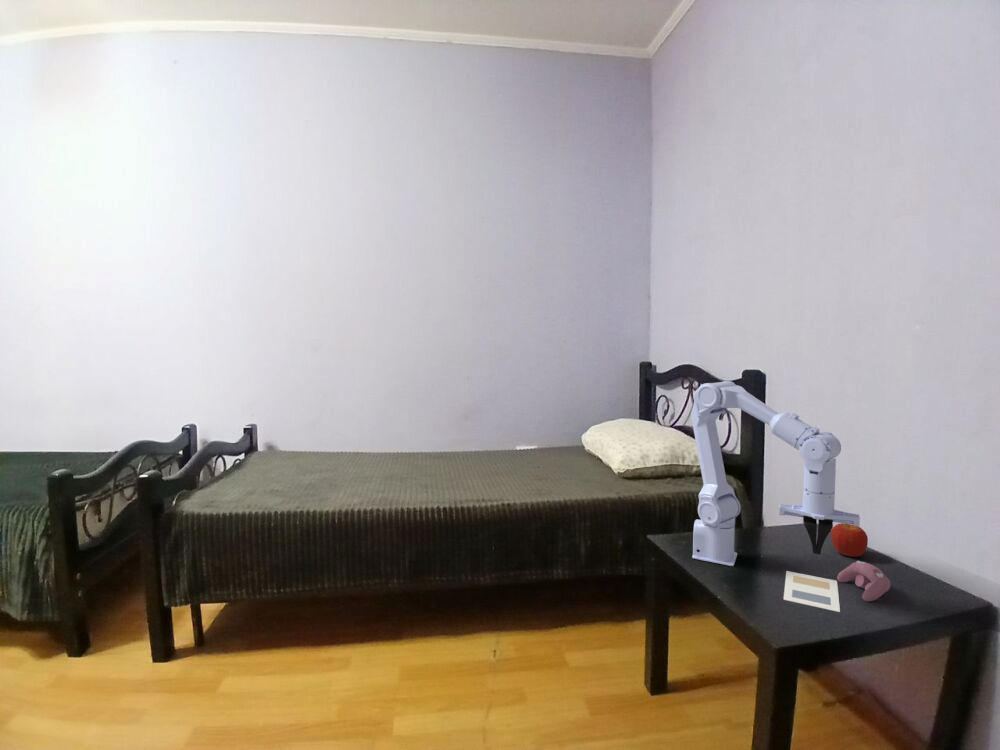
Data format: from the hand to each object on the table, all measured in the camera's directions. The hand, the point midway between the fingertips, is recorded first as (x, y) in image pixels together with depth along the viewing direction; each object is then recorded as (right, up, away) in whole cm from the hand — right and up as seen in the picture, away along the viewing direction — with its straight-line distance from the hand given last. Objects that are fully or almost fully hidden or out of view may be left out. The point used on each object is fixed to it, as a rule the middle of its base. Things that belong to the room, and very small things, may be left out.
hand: (816, 552), depth 111 cm
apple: (+20, -8, +20) cm, 29 cm away
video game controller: (+11, -9, +1) cm, 14 cm away
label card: (0, -9, +2) cm, 9 cm away
